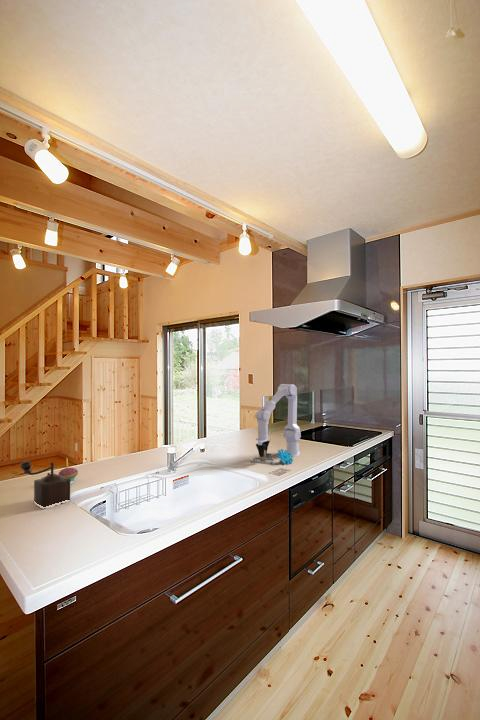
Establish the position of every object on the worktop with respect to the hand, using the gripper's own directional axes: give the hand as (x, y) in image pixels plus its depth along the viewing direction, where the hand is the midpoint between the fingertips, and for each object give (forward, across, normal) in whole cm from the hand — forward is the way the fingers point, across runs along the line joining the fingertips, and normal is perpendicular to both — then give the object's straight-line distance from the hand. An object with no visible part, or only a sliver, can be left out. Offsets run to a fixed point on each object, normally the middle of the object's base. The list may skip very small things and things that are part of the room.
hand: (263, 454), depth 197 cm
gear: (+4, -1, +13) cm, 14 cm away
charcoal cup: (+4, -9, 0) cm, 10 cm away
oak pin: (+3, 0, 0) cm, 3 cm away
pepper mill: (+4, +84, -70) cm, 109 cm away
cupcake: (+4, +61, -80) cm, 101 cm away
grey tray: (+4, 0, 0) cm, 4 cm away
